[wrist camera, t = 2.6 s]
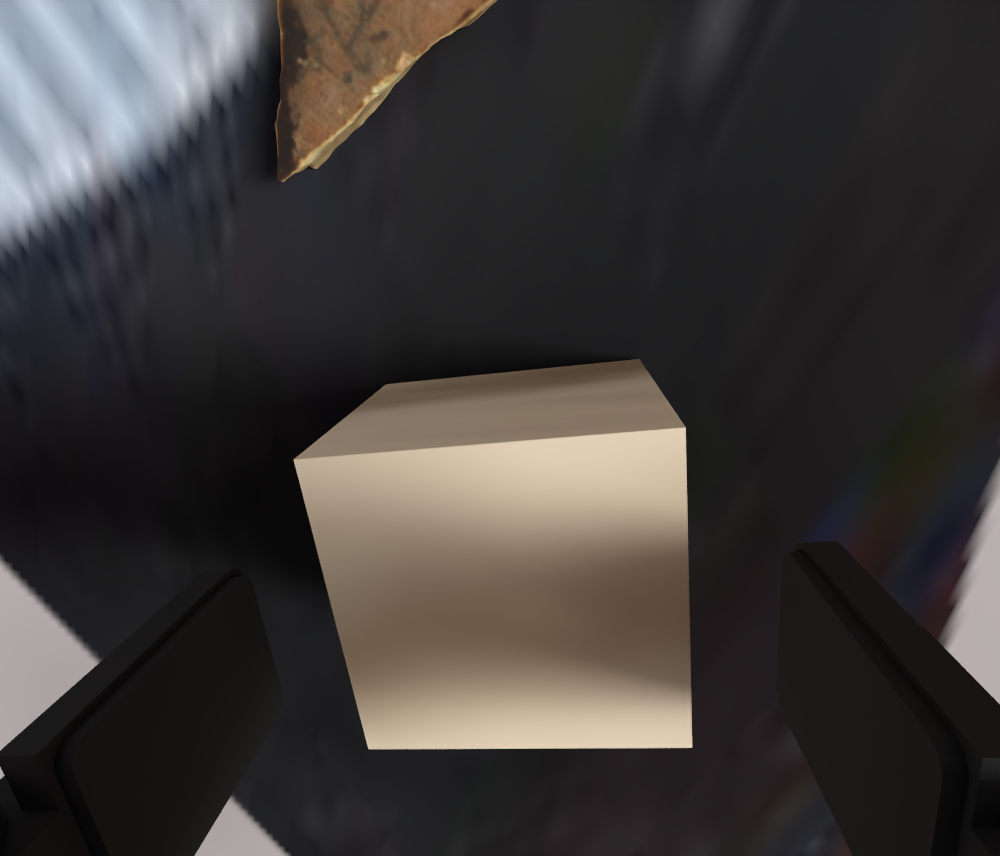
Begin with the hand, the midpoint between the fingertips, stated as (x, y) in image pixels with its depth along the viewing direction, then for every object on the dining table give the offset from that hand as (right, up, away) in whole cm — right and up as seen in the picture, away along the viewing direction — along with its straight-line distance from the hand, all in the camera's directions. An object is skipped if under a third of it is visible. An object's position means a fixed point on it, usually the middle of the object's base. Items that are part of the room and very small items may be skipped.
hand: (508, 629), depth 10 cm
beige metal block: (0, +2, +4) cm, 5 cm away
